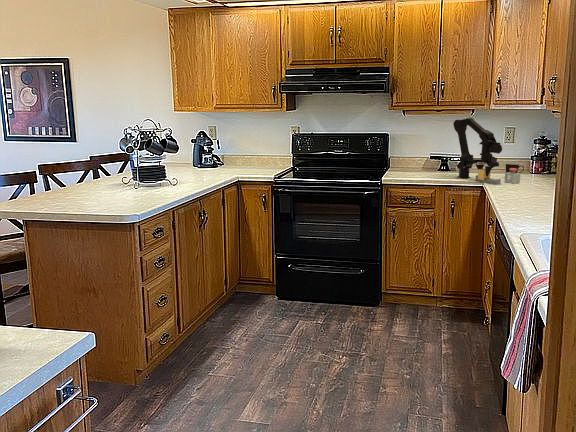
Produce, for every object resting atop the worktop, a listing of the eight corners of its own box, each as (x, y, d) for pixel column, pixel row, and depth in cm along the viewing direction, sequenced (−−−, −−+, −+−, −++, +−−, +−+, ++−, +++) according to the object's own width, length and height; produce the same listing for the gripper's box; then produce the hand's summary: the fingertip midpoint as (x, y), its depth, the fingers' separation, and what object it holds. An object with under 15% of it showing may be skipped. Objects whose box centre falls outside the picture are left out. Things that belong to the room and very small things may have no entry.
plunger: (507, 177, 381) (508, 168, 380) (512, 177, 383) (513, 168, 382) (512, 178, 377) (513, 169, 376) (517, 178, 379) (518, 168, 378)
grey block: (504, 182, 382) (504, 172, 381) (511, 181, 385) (512, 172, 384) (512, 183, 376) (513, 174, 375) (519, 183, 379) (520, 173, 378)
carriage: (477, 179, 385) (478, 169, 383) (484, 178, 387) (485, 168, 386) (483, 180, 380) (484, 170, 379) (489, 179, 383) (490, 169, 381)
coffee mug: (503, 178, 396) (504, 163, 394) (505, 177, 404) (506, 162, 401) (521, 180, 391) (523, 165, 389) (523, 178, 398) (524, 163, 396)
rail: (475, 180, 388) (475, 175, 388) (478, 179, 390) (479, 175, 389) (496, 184, 372) (497, 179, 371) (500, 184, 373) (500, 179, 372)
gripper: (506, 153, 375) (504, 177, 378) (484, 150, 391) (482, 173, 395) (493, 153, 370) (491, 178, 374) (472, 150, 386) (470, 174, 390)
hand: (484, 176), depth 383 cm, fingers closed on carriage, 5 cm apart
